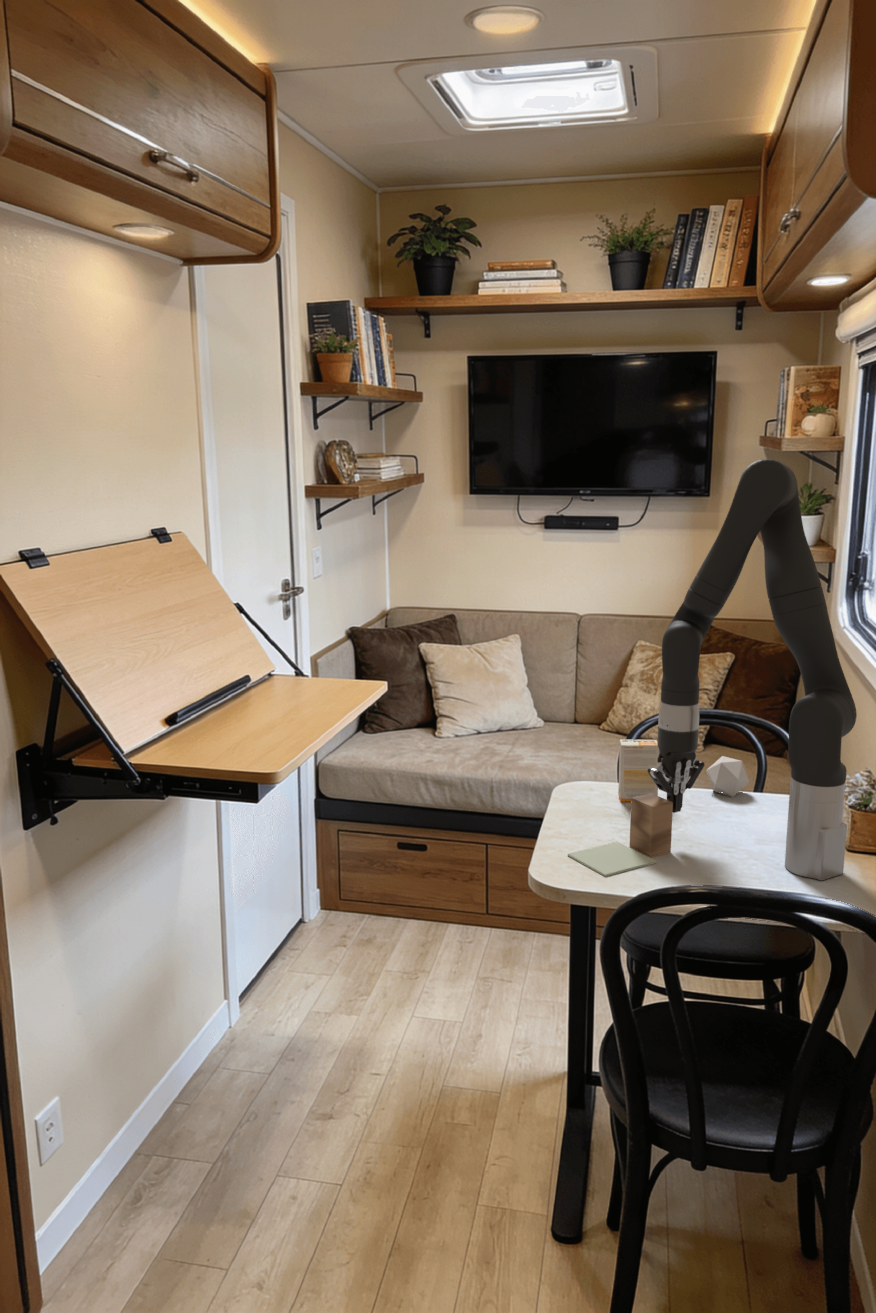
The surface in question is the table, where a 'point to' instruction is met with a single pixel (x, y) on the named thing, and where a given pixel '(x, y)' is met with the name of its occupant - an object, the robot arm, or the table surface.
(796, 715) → the robot arm
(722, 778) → the die
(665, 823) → the walnut block
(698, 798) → the table surface
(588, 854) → the mat
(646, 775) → the supplement box
